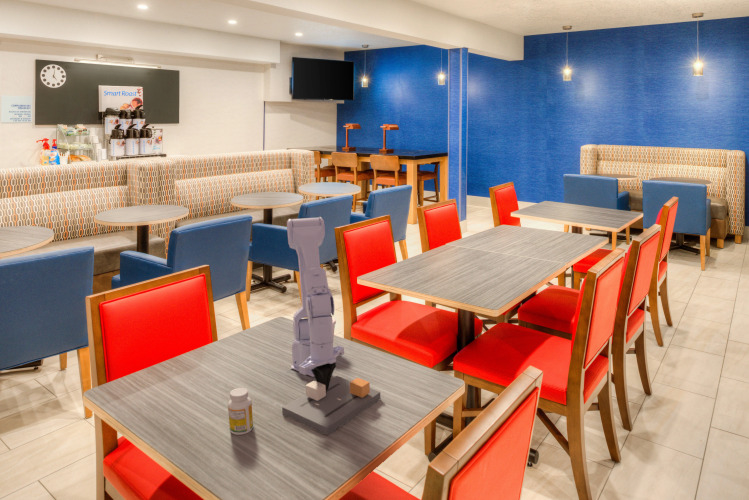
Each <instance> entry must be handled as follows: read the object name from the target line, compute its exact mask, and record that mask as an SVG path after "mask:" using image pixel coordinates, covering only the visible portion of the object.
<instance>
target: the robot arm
mask: <svg viewBox="0 0 749 500" xmlns="http://www.w3.org/2000/svg"><path fill="white" fill-rule="evenodd" d="M286 230H287V242H288V245H289V248H290V249H293V250H295V251H296V254H297V258H298V269H299V270H298V271H299V283H300V295H301V307H300V308H299V309H298V310H297V311H295V312H294V314H293V317H292V318H293V320H292V321H293V322H292V323H293V325H292V326H293V335H294V340H293V342H292V345H291V352H292V353H291V355H292V365H291V366H290V368H291V369H292V370H295V371H297V372H298V373H299V374H301V375H303V376H306V375H307V376H310V377H313V378H315V381H316V382H319V383H321V384H324V385H325V387H326V390H328V388H329V383H330V379H332V375H333V373H334V371H335V369H336V367H337V359H336V358H337V357H338V356H343V355H345V347H344V346H342V345H337V346H334V339H333V330H332V318H333V316H334V315H335V300H334V297H333V296H334V295H333V293H332V291H331V288H330V287H329V282H328V278H327V273H326V270H325V269H324V267H321V263H320V262H321V261H320V260H321V259H320V251H319V250H320V249H319V247H320V246H322V245H323V242H324V238H325V236H326V226H325V220H324V219H323V218H322V217H321V216H318V217H308V218H307V217H305V218H288V220H287V221H286Z"/></svg>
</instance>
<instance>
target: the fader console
mask: <svg viewBox="0 0 749 500" xmlns="http://www.w3.org/2000/svg"><path fill="white" fill-rule="evenodd" d="M351 381H352V380H350V379H347V378H344V377H342V376H339V375H336V376H334V377H331V379H330V383H329V388H328V390H326V396H325V397H323V398H321V399H320V400H318V401H317V400H314V399H312V398H310V397H307V396H306V393H303V394H302V395H301V396H299V397H297V398H295V399H294V400H292V401H290V402H288V403H287V404H285V405H282V406H281V409H282V413H281V414H282V415H283V416H284V417H285V416H286V417H287V418H289V419H292V420H294V421H295V422H299V423H300V424H302V425H303V426H306V427H308V428H310V429H312V430H314V431H316V432H319V433H320V434H323V435H325V436H329V435H330V434H332V433H334V432H335V431H336V430H337V429H339V428H340V427H343V425H345V424H347V423H348V422H349V421H351V420H352V419H353V418H355V417H357V416H358V415H360V414H361V413H363V412H364V411H365V410H367V409H369V407H371V406H373V405H374V404H375V403H377V402H378V401H379V400H381V391H378V390H377V389H374V388H370V393H369V394H367V395H366V396H364V397H363V398H362V397H359V396H356V395H354V394H351V393H350V382H351Z"/></svg>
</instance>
